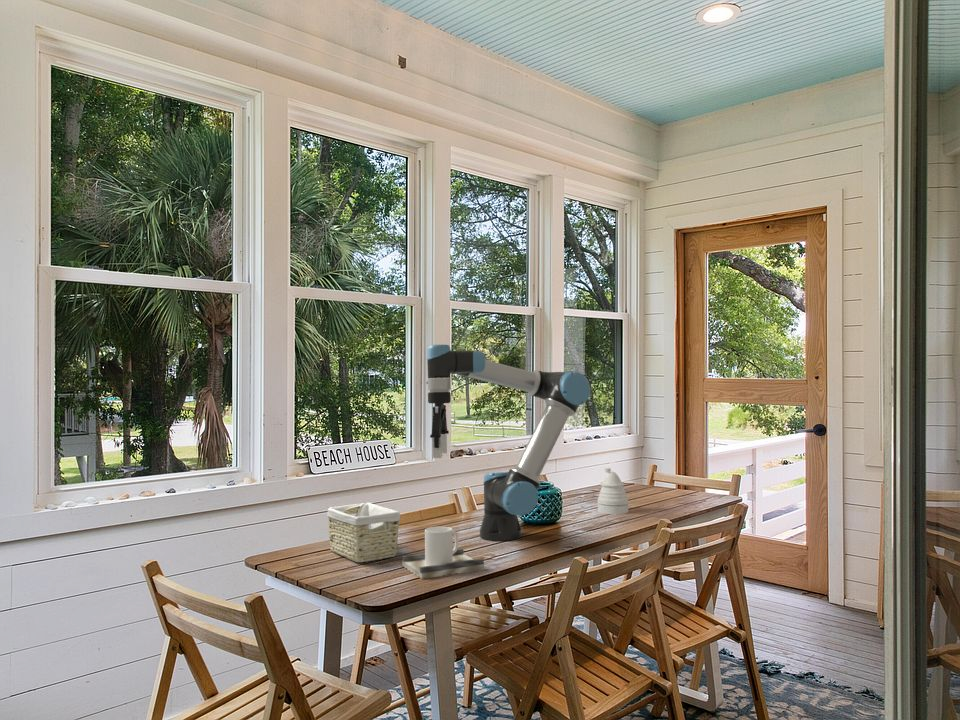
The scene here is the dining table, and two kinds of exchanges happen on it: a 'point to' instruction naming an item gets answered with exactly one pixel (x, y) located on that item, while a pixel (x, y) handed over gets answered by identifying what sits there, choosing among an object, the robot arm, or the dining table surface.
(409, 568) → the rail board
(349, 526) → the storage basket
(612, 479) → the honey pot
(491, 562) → the dining table surface
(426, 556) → the cup
